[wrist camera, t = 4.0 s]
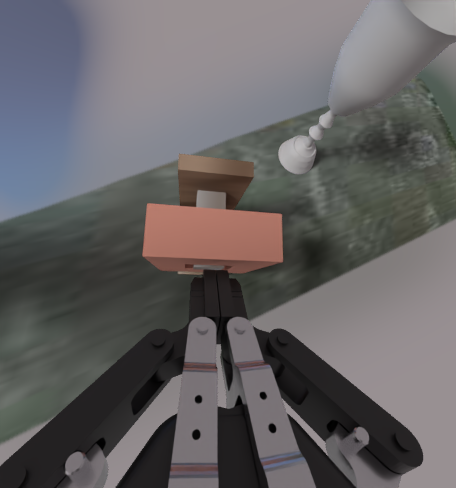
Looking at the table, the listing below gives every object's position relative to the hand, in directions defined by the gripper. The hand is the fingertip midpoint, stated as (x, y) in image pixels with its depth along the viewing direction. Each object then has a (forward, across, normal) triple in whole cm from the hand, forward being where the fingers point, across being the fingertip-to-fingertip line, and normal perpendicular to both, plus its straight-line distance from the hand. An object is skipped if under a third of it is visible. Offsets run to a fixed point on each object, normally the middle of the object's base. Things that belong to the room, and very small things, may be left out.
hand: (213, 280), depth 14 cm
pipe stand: (+11, 0, +5) cm, 12 cm away
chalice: (+20, -12, -4) cm, 24 cm away
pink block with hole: (+8, 0, +4) cm, 9 cm away
